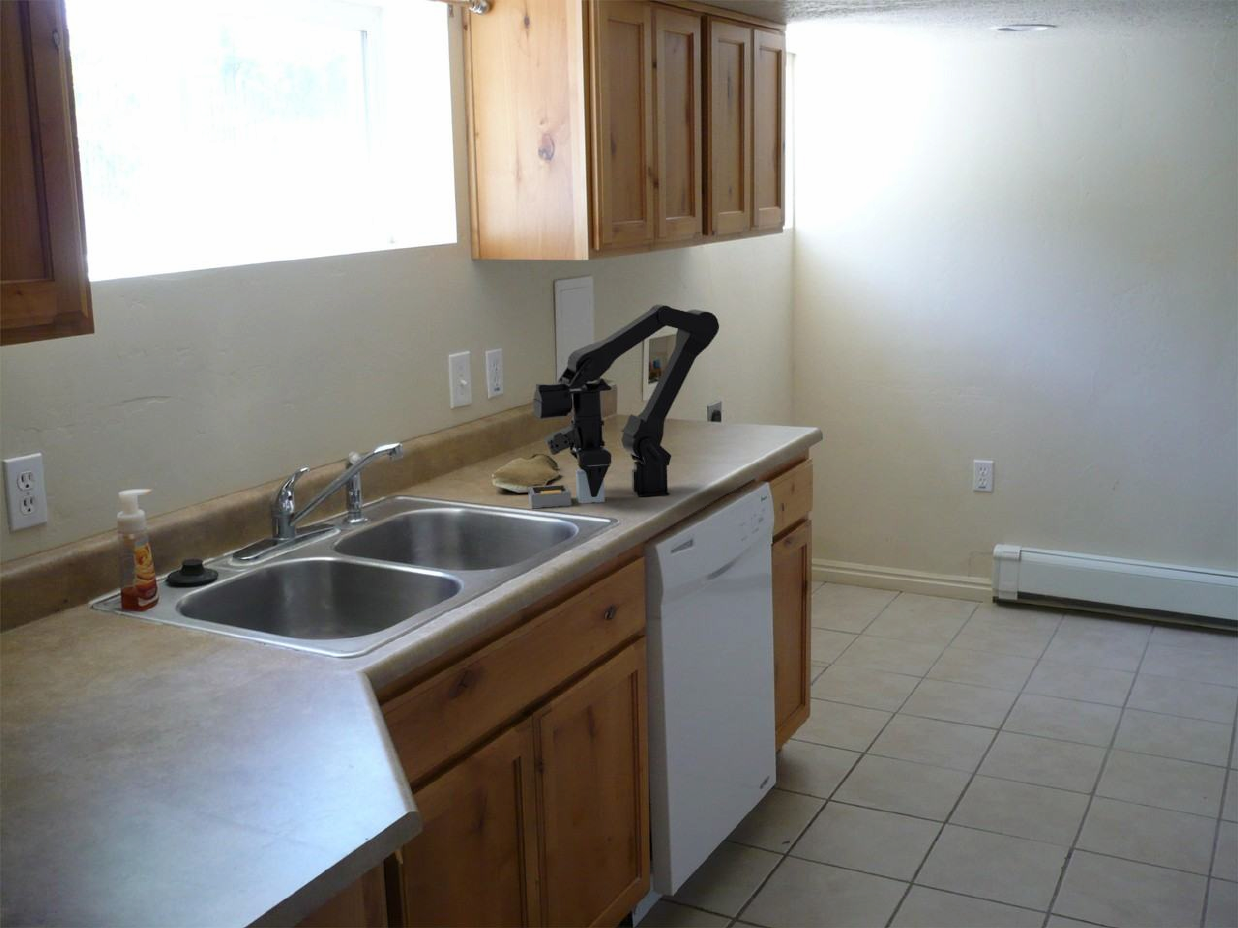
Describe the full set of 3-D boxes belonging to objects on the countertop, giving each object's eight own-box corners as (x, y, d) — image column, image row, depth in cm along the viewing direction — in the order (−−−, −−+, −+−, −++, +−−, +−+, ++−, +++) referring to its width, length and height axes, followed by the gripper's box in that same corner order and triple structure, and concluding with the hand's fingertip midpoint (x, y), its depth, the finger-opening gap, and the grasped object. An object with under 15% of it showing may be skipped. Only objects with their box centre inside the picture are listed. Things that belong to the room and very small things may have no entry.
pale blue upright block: (601, 497, 245) (600, 468, 244) (604, 501, 242) (603, 472, 240) (576, 499, 245) (575, 469, 243) (579, 503, 241) (578, 474, 239)
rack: (567, 497, 246) (566, 482, 245) (571, 505, 239) (570, 490, 238) (528, 500, 245) (527, 485, 244) (531, 508, 238) (531, 493, 237)
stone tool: (521, 465, 274) (481, 493, 251) (522, 448, 273) (483, 474, 250) (570, 473, 272) (535, 502, 248) (571, 456, 271) (536, 483, 247)
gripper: (541, 409, 247) (545, 483, 250) (551, 425, 229) (555, 505, 232) (595, 405, 249) (598, 480, 252) (610, 421, 231) (613, 501, 234)
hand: (590, 491), depth 243 cm, fingers open, 9 cm apart
